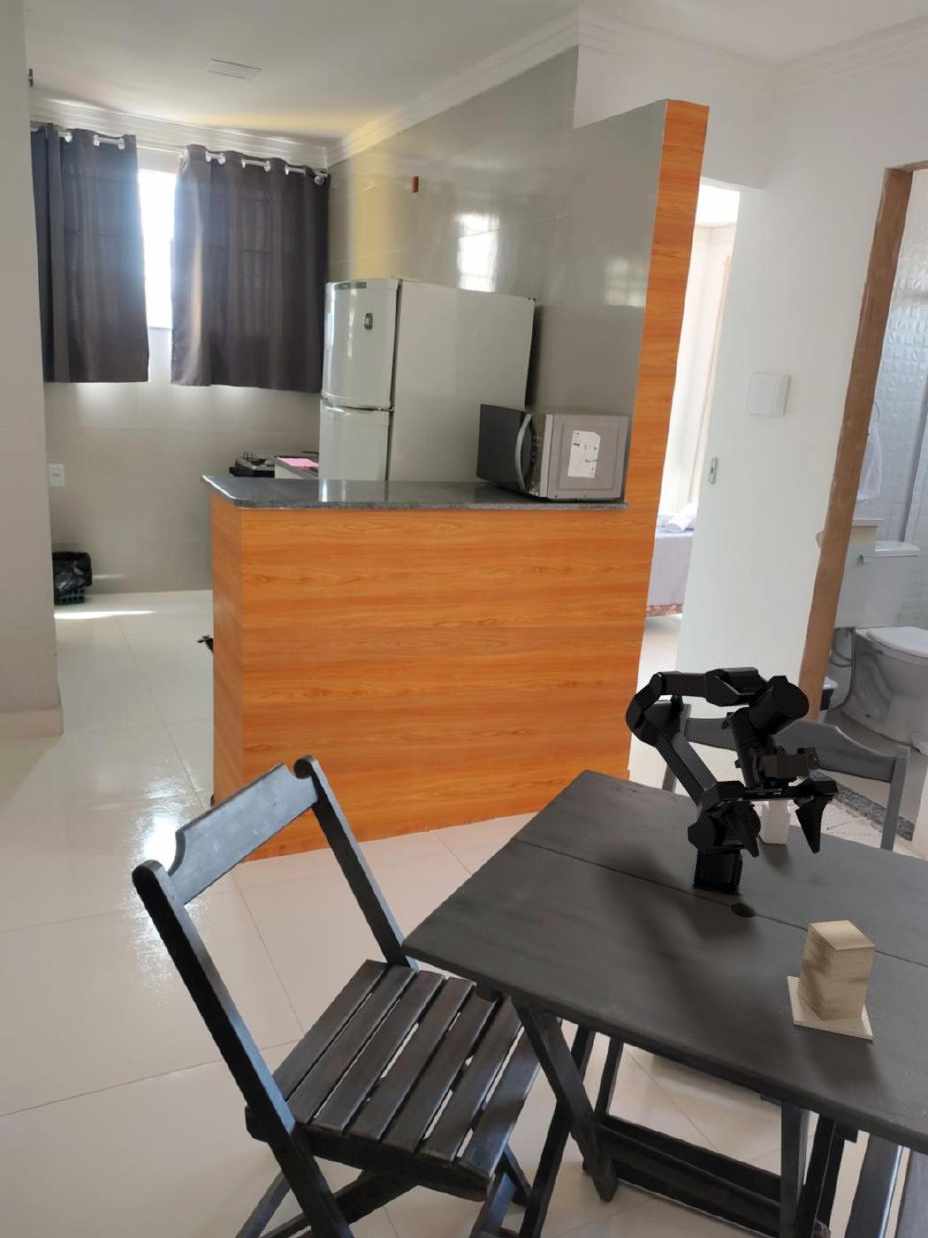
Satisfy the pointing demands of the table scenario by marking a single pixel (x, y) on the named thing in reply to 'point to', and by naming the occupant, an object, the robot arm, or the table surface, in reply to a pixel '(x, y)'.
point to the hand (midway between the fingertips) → (786, 855)
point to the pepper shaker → (775, 821)
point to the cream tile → (809, 1019)
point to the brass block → (835, 970)
